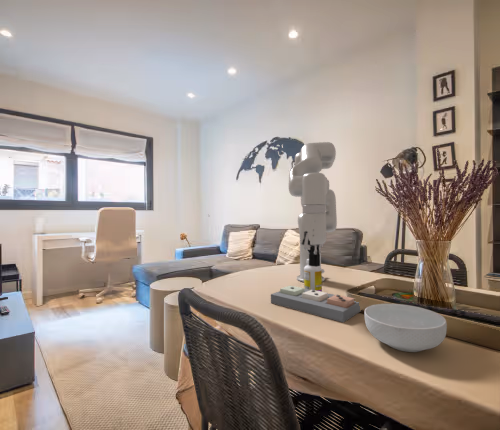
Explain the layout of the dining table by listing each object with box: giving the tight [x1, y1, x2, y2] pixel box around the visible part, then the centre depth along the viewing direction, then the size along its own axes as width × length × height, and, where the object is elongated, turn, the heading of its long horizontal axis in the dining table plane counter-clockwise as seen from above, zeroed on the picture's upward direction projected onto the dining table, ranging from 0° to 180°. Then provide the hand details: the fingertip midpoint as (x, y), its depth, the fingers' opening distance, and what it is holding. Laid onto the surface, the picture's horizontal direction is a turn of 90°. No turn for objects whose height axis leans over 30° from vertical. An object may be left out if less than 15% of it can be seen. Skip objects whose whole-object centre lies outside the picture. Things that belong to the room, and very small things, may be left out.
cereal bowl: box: [364, 303, 448, 353], centre depth 65 cm, size 17×17×7 cm
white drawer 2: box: [302, 290, 329, 302], centre depth 92 cm, size 6×6×4 cm
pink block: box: [327, 294, 355, 308], centre depth 86 cm, size 6×6×4 cm
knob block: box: [279, 285, 304, 296], centre depth 98 cm, size 6×6×4 cm
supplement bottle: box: [303, 259, 323, 292], centre depth 109 cm, size 7×7×13 cm
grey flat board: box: [270, 289, 361, 323], centre depth 92 cm, size 14×26×3 cm, turn 47°
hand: (314, 265), depth 93 cm, fingers closed
